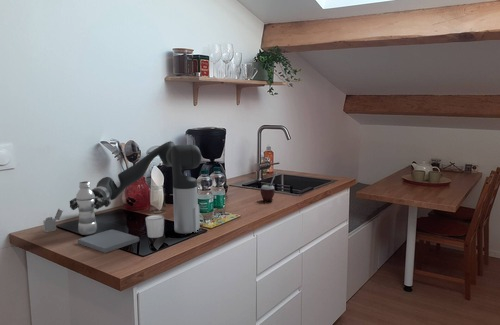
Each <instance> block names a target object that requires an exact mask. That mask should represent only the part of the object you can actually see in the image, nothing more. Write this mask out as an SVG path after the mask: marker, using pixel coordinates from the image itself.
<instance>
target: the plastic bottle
mask: <svg viewBox="0 0 500 325" xmlns="http://www.w3.org/2000/svg"><path fill="white" fill-rule="evenodd" d="M78 184H79V186H78V188H79V189H78V191H77V192H76V194H75V195H76V196H75V198H76V200H77V204H78V208H77V209H78V226H77V227H78V228H77V229H78V233H79V234H80V235H82V236H91V235H94V234H96V232H97V230H98V224H97V221H96V216H95V208H94V200H95V195H94V193H93V191H92V189H91V182H90V181H88V180H87V181H80V182H79V183H78Z"/></svg>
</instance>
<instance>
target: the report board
mask: <svg viewBox="0 0 500 325" xmlns="http://www.w3.org/2000/svg"><path fill="white" fill-rule="evenodd" d="M139 242H140V237H139V236H136V235H133V234H130V233H126V232H123V231H119V230H116V229H109V230H105V231H101V232H98V233H94V234H90V235H86V236H84V237H82V238H78V239H77V243H78V244H79V245H82V246H85V247H88V248H91V249H93V250H97V251H99V252H102V253H105V254H106V253H109V252H111V251H116V250H118V249H120V248H123V247H127V246H130V245H132V244H135V243H139Z"/></svg>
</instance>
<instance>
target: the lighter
mask: <svg viewBox="0 0 500 325" xmlns="http://www.w3.org/2000/svg"><path fill="white" fill-rule="evenodd" d="M63 211H64V210H63V209H62V208H58V209H57V211H56V213H55V216H54V218H53V217H52V216H47V217H46V218H45V219H44V220H43V221H42V224H43V232H44V233H48V232H53V231H57V221H60V218H61V216H62V214H63Z"/></svg>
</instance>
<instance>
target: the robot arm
mask: <svg viewBox="0 0 500 325" xmlns="http://www.w3.org/2000/svg"><path fill="white" fill-rule="evenodd" d="M156 157H159V158H160V161H161V162H162V163H163V165H164V166H165V167H171V171H172V173H171V174H172V194H173V196H172V197H173V201H172V202H173V221H174V225H173V227H174V228H173V229H174V232H175V233H177V234H191V233H192V232H194V233H195V232H196V233H197V232H198V231H199V230H200V226H201V225H200V223H201V222H200V219H201V218H200V204H198V202H199V200H198V199H199V198H198V180H197V179H196V178H195V177H192V176H188V175H186V174H184V173H183V172H182V170H192V169H193V170H194V169H196V168H198V167H200V166H201V165H200V164H201V162H202V152H201V150H200V148H199V147H198V145H195V144H178V145H177V144H175V142H174V141H173V140H172V141H171V140H169V141H166V142H164V143H163V144H161V145H159V146H158V147H157V148H155V149H154V150H152V151H150V152H149V153H148V154H147V155H145V156H144V157H142V158H141V159H140V160H138V161H137V162H136V163H134V164H133V165H131V166H129V167H128V168H126V169H124V170H123V171H121V172H119V173H118V174H117V178H118V181H119V186H117V183H116V182H115V181H114V179H113V178H111V177H110V176H105V177H103V178H101V179H100V180H99V181H98V182H97V184H96V187H93V188H92V189H91V190H92V191H93V193H94V195H95V200H94V209H95V210H99V209H100V208H103V207H105V208H107V207H109V206H110V205H111V203H112V202H111V201H113V200H115V199H117V197H119V195H120V194H122V192H124V190H125V189H126V188H128V187H130V186H131V185H132V184H134V183H136V182H137V181H139V180H141V179H142V178H143V176H144V175H145V174H146V172H147V170H148V168H149V167H150V165H151V163H152V162H153V160H154V159H155V158H156ZM69 208H70V210H72V211H74V210H76V209H78V204H77V200H76V197H74V198H72V199H71V200H69ZM197 230H198V231H197Z"/></svg>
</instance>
